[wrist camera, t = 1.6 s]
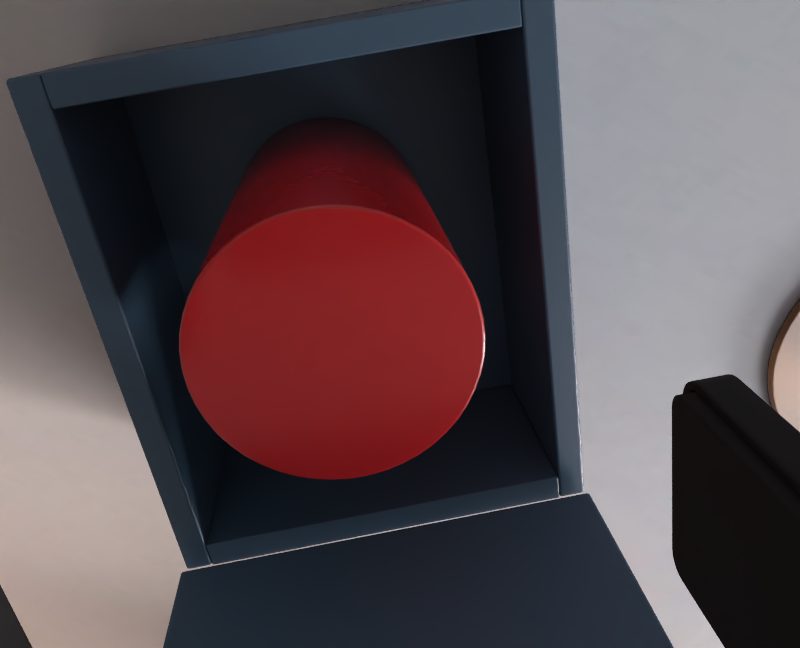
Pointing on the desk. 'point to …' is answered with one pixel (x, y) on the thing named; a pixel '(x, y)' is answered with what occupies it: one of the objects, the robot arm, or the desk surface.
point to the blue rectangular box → (213, 192)
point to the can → (331, 310)
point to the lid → (430, 589)
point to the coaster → (786, 370)
